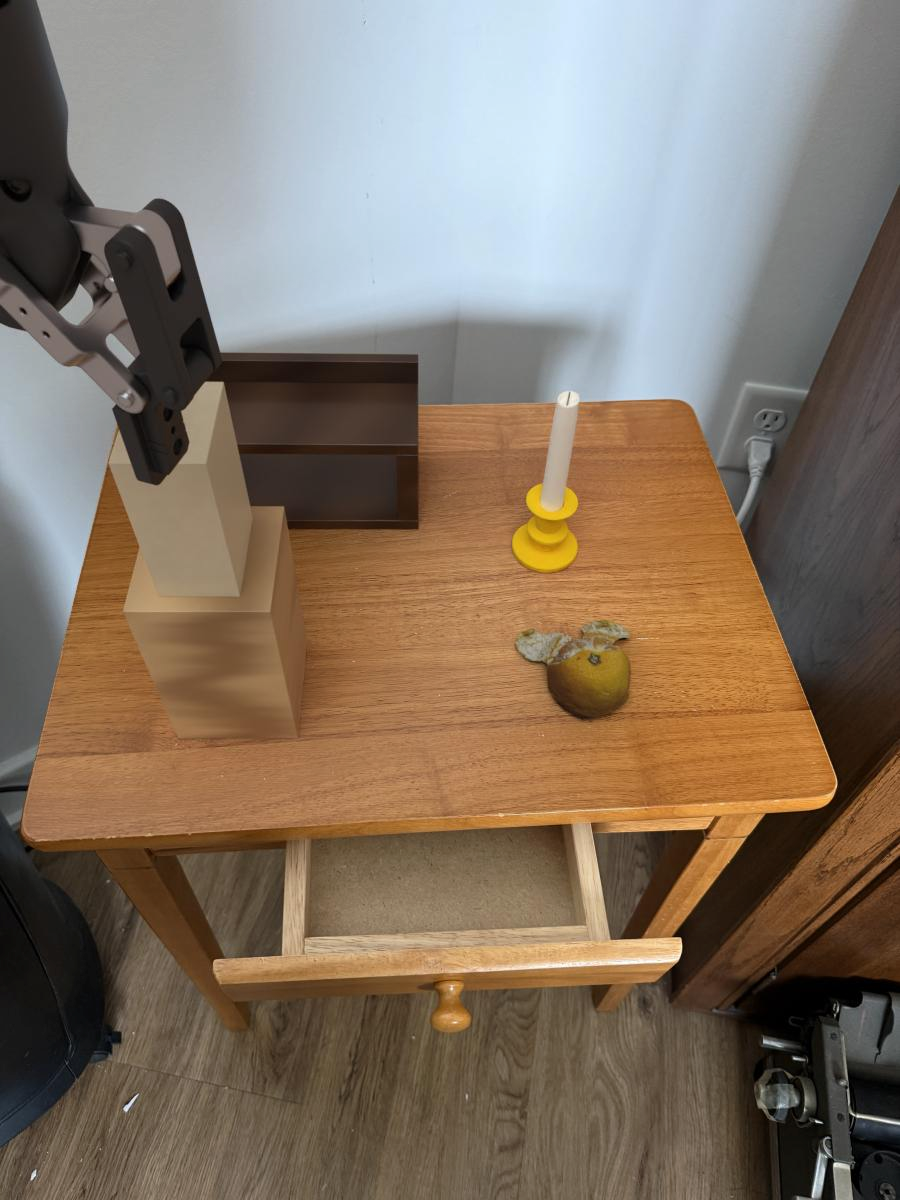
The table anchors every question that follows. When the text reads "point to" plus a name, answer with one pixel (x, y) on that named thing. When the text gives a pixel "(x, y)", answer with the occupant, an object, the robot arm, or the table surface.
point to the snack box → (193, 506)
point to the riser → (228, 644)
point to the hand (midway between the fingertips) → (64, 443)
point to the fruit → (583, 667)
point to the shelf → (327, 436)
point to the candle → (552, 500)
